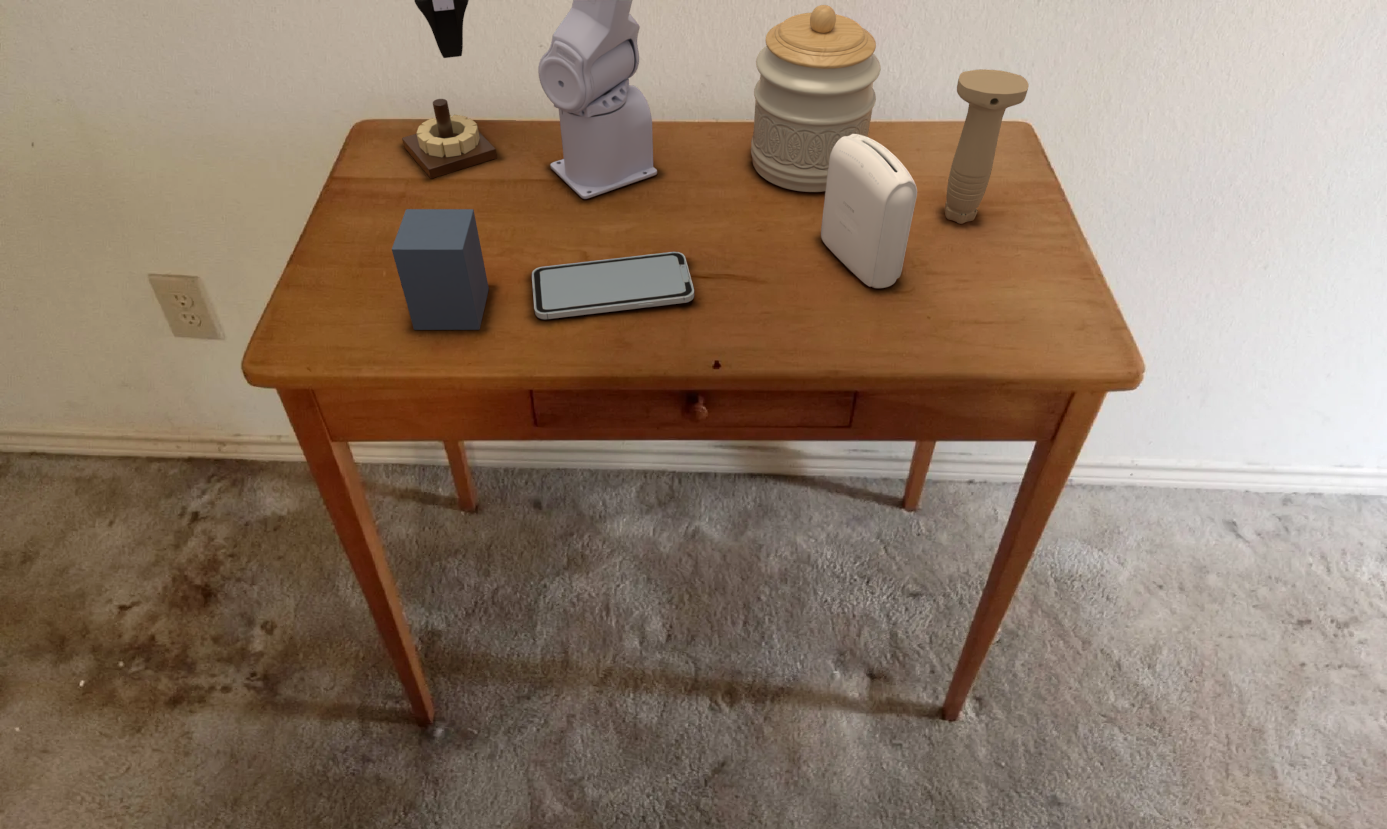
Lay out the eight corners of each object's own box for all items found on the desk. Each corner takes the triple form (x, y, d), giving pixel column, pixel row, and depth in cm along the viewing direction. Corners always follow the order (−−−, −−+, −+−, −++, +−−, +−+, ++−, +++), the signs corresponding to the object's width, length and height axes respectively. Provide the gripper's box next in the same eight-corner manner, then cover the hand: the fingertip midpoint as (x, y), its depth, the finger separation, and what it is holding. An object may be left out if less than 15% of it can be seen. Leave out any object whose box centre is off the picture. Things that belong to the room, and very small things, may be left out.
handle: (992, 231, 95) (1031, 95, 84) (929, 227, 96) (961, 91, 85) (987, 205, 99) (1024, 71, 88) (927, 201, 99) (956, 67, 88)
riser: (489, 288, 88) (473, 208, 82) (479, 330, 84) (462, 249, 77) (426, 288, 88) (405, 208, 82) (413, 330, 84) (391, 249, 77)
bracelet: (462, 121, 108) (460, 108, 107) (489, 145, 104) (487, 132, 103) (410, 138, 105) (407, 125, 104) (435, 163, 101) (433, 150, 100)
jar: (740, 186, 101) (748, 26, 88) (760, 128, 110) (770, -25, 97) (858, 202, 99) (884, 40, 86) (869, 141, 108) (894, -13, 95)
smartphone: (531, 267, 89) (683, 250, 91) (532, 275, 90) (683, 258, 91) (534, 315, 84) (695, 296, 86) (536, 323, 85) (696, 304, 86)
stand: (468, 128, 109) (459, 78, 105) (497, 158, 104) (488, 107, 100) (403, 147, 106) (391, 96, 101) (430, 178, 101) (419, 127, 97)
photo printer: (813, 238, 94) (826, 127, 85) (848, 227, 96) (865, 117, 87) (868, 295, 88) (889, 182, 79) (905, 283, 89) (930, 171, 80)
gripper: (382, -102, 97) (410, 26, 107) (389, -53, 87) (419, 83, 97) (450, -107, 98) (471, 20, 108) (464, -59, 89) (486, 75, 99)
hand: (451, 49), depth 103 cm, fingers closed
